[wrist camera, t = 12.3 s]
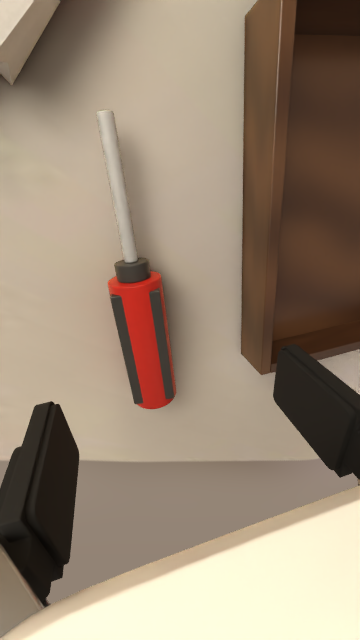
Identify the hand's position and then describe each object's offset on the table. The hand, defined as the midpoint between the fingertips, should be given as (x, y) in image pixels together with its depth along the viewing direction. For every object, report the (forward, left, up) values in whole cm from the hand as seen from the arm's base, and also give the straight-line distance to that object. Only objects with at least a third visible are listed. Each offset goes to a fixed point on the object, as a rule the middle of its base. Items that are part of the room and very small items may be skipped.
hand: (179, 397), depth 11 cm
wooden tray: (-5, +16, -9) cm, 19 cm away
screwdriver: (-3, 0, -9) cm, 9 cm away
